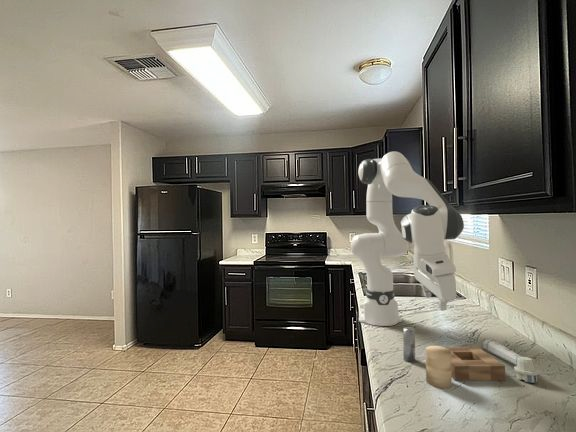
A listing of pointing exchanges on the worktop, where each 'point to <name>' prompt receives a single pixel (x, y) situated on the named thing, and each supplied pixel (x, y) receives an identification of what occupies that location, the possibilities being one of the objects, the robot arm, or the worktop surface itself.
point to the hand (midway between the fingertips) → (435, 302)
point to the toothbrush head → (513, 360)
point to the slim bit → (409, 344)
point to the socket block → (474, 365)
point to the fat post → (438, 366)
